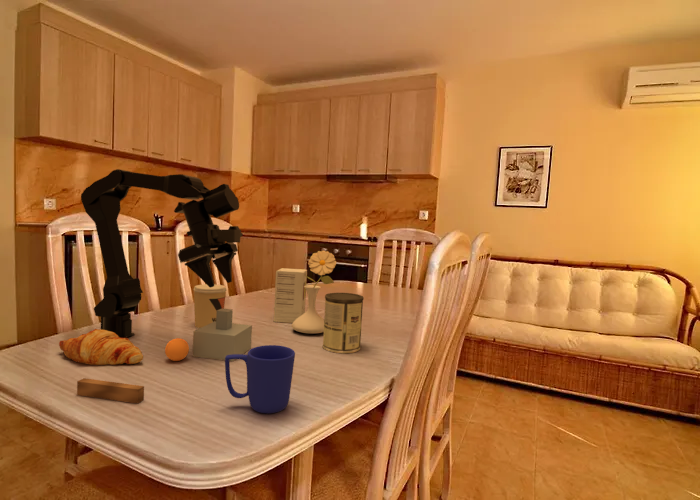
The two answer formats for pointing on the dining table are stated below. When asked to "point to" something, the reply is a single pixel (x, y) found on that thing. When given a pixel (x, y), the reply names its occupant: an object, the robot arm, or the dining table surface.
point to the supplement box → (289, 294)
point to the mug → (265, 377)
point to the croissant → (101, 349)
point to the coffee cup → (207, 303)
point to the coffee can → (342, 322)
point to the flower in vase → (315, 293)
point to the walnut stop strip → (110, 390)
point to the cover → (222, 337)
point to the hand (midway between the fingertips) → (221, 284)
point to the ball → (177, 349)
